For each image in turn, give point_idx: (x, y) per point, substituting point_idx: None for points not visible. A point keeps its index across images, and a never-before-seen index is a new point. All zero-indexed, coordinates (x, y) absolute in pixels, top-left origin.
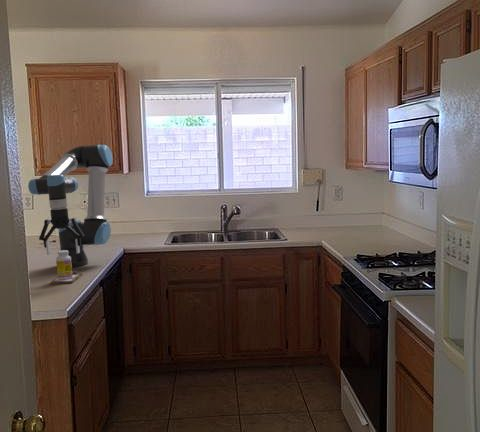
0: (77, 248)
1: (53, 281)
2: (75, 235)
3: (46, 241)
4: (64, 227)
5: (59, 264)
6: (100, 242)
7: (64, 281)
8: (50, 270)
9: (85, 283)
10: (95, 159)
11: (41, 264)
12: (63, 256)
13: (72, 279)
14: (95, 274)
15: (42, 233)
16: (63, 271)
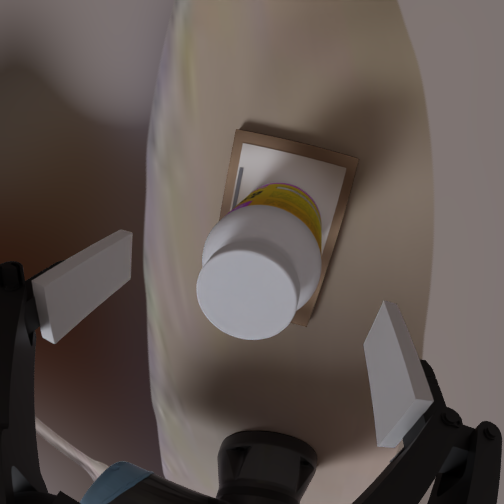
0: (96, 243)
1: (341, 170)
2: (5, 312)
3: (424, 397)
4: (37, 494)
5: (296, 208)
6: (125, 464)
7: (278, 144)
8: (348, 428)
9: (173, 105)
10: None
11: (363, 484)
12: (249, 236)
13: (237, 169)
14: (154, 277)
15: (482, 494)
16: (277, 189)
